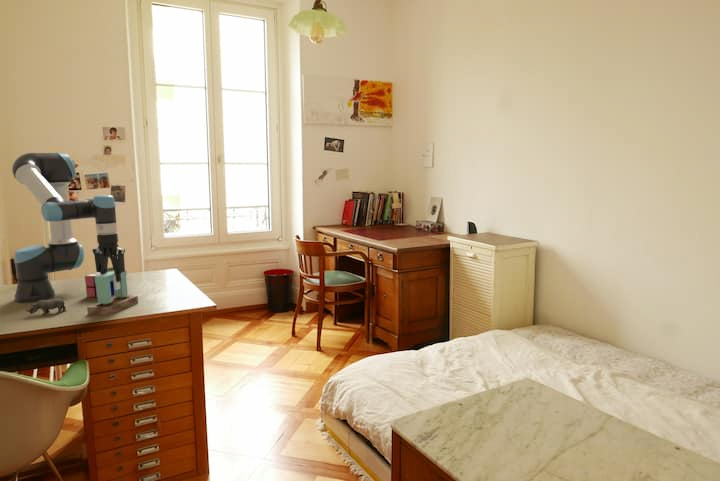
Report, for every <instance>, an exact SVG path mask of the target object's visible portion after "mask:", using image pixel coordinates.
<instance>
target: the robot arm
mask: <svg viewBox="0 0 720 481" xmlns="http://www.w3.org/2000/svg"><path fill="white" fill-rule="evenodd" d="M11 172H12V175H13V177H14V178H15V180H16V181H17V182H18V183H20V184H22V185H24V186H25V187H26V188H27V190H28V191H29V192H30V193H31V194H32V196H33V197H34V198H35V199H36V200H37V202H38V203H39V204H40V205H41V207H40V211H41V215H42V219H43V220H44V221H45V222H49V226H50V237H51V238H50V240H49V241H48V244H47V245H48V247H46V246H45V245H44V244H37V245H30V246H26V247H22V248H19V249H18V250H16V251H15V252H14V265H15V271H16V280H17V285H16V290H15V294H14V302H16V303H23V304H24V303H25V304H26V303H27V304H28V303H34V302H35V303H37V302H38V301H40V300H49V299H50V300H51V299H52V298H53V299H54V297H56V291H55V290H54V288H53V286H52V283H51V281H50V279H49V274H51V273H57V272H61V271H62V272H63V271H72V270H74V269H78V268H80V267H81V266H82V264H83V263H84V260H85V252H84V249H83V248H84V247H83V245H82V244H81V243H78V240H77V239H76V238H74V233H73V224H72V223H73V222H72V220H81V219H82V220H83V219H94V220H95V221H94V222H95V228H96V230H95V231H96V233H97V235H96V239H97V241H96V242H97V244H98V246H97V247H96V248H93V249H92V253H93V255H94V262H95V268H96V269H95V271H96V273H97V272H99V273H101V275H103V274H106V273H107V272H108V271H107V268H109V267H108V266H109V265H108V264H109V259H110V261H111V264H112V266H111V267H113V269H114V275H113V280H114V290H118V289H120V281H121V273H122V272H125V270H126V268H125V253H126V249H125V248H121V247H119V244H118V242H119V237H118V233H117V232H118V224H117V215H116V202H115V197H114V196H113V195H110V194H109V195H108V194H107V195H105V194H103V195H94V196H93V199H92V198H89V199H87V198H86V199H81V200H70V196H69V186H70V185H71V184H72V180H73V179H74V178H75V177H76V167H75V163H74V161H73V160H72V158H71V156H69V154H66V153H61V152H29V153H24V154H21V155H20V156H18V157H17V158H16V159H15V160H14V162H13V164H12V167H11Z"/></svg>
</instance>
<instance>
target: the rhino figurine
mask: <svg viewBox="0 0 720 481" xmlns="http://www.w3.org/2000/svg"><path fill="white" fill-rule="evenodd" d="M30 306H32V307H29V308H28V309H27V308H25V311H26V312H28V313H29V314H31V315H33V314H35V313H37V312H38V310H42V311H43V313H42V316H46V314H47V315H48V314H50V312H51V311H50V310H52V311H53V310H54V309H57V311H56V314H57V313H58V314H61V313H63V312H64V313H65V312H67V309H66V308H67V307H66V306H65V302H64V300H63V299H62V298H60V297H59V298H53V299H52V298H51V299H50V300H49V299H47V300H40V301H37V302H35V303H34V302H31V303H30Z"/></svg>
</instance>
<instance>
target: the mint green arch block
mask: <svg viewBox="0 0 720 481" xmlns="http://www.w3.org/2000/svg"><path fill="white" fill-rule="evenodd" d="M127 274H128V273H127V269H125V272H122V273H121V281H120V289H118V290H114V295H113V296H115V297H125V296H129V293H128V284H127ZM113 275H114V271H112V272H109V273H106V274H103V275H100V276H97V277H94V278H95V283H96V288H97V303H100V304H108V303H110V302H112V298H111V297H112V296H111V288H110V281H113V284H114V280H113Z"/></svg>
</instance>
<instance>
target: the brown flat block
mask: <svg viewBox="0 0 720 481" xmlns="http://www.w3.org/2000/svg"><path fill="white" fill-rule="evenodd" d="M111 298H112V302H110V303H108V304H100V303H98V302H96V303H94V304H91V305H89V306H87V307H86V310H87V315H92V316H93V315H95V316H96V315H99V316H112V315H115V314H116V313H119V312H121V311H124V310H125V309H127V308H128V309H129V307H131V306H134V305H136V304H139V296H138V295H127V296H125V297H115V295H113V296H111Z"/></svg>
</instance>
